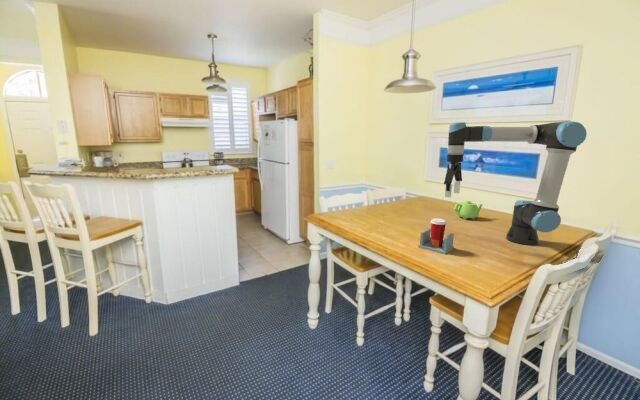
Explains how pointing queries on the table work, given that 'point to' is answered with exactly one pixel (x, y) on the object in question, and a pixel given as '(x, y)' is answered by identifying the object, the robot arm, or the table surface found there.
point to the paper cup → (437, 232)
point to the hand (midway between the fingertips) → (452, 195)
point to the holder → (426, 244)
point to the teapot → (467, 210)
